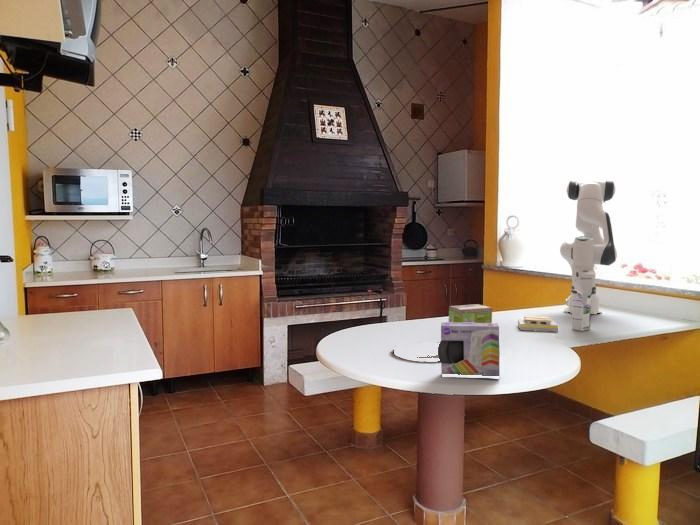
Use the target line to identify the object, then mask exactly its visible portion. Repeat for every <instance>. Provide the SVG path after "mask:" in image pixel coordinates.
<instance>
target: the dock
mask: <svg viewBox="0 0 700 525" xmlns="http://www.w3.org/2000/svg"><path fill="white" fill-rule="evenodd" d="M551 320H552V322H550V324H546V323H545V322H540V324H536V322H531V324H527V323H526V321H525V319H524V318H518V319H517V326H518V325H519V326H518V328H520V329H521V330H536V331H535V332H545V331H554V332H553V333H558V331H559V325H558V323H557V322H556V321H555V319H551ZM520 329H519V330H520ZM521 330H520V331H521Z"/></svg>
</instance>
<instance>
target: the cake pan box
mask: <svg viewBox="0 0 700 525" xmlns="http://www.w3.org/2000/svg"><path fill="white" fill-rule="evenodd" d="M439 343H440V344H439V347H438V355H439V359H440V362H439V363H441V364H440V365H441V367H440V368H441V375H442V374H458V375H460V374H461V375H482V376H500V356H501V354H500V352H501V351H500V325H499V323H497V322H495V323H493V322H492V323H472V322H462V323H458V322H449V321H448V322H447V321H446V322H445V321H442V322H441V324H440V342H439ZM500 377H501V376H500Z"/></svg>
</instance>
